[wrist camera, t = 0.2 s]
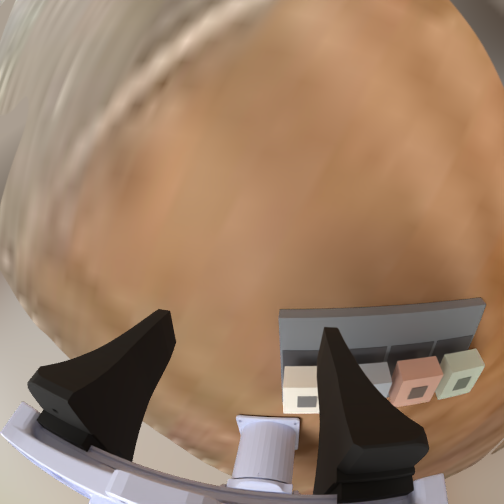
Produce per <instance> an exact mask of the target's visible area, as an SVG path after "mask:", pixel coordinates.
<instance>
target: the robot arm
mask: <svg viewBox="0 0 504 504" xmlns="http://www.w3.org/2000/svg"><path fill="white" fill-rule="evenodd" d="M175 344H176V339H175V334H174V329H173V324H172V319H171V313H170V311H168V310H161V309H158V310H157V311H155V312H154V313H152V314H151V315H149V316H148V317H147V318H145V319H144V320H143V321H141V322H140V323H138V324H137V325H135V326H134V327H133V328H131V329H130V330H128V331H127V332H125V333H124V334H122V335H121V336H119V337H117V338H116V339H114V340H113V341H111V342H109V343H107V344H106V345H104V346H102V347H100V348H98V349H96V350H94V351H91V352H89V353H87V354H84V355H82V356H79V357H77V358H74V359H71V360H68V361H64V362H60V363H56V364H51V365H47V366H41V367H40V368H39V369H38V370H37V371H36V373H35V374H34V375H33V376H32V378H31V379H30V380H29V381H28V389H29V390H30V392H31V394H32V395H33V397H34V398H35V399H36V401H37V402H38V403H39V405H40V406H41V407H42V408H43V411H42V413H40V412H38V411H37V410H36V409H34V408H33V407H31V406H30V405H28V404H27V403H25V402H22V403H21V404H20V405H19V407H18V408H17V410H16V411H15V412H14V414H13V415H12V417H11V418H10V419H9V421H8V422H7V424H6V425H5V427H4V428H3V429H2V431H1V432H0V433H1V435H2V436H3V437H4V438H5V439H6V440H7V441H8V442H9V443H10V444H11V445H12V446H13V447H15V448H16V449H17V450H18V451H19V452H20V453H21V454H22V455H23V456H25V457H26V458H27V459H28V460H30V461H31V462H32V463H34V464H35V465H36V466H38V467H39V468H41V469H42V470H44V471H45V472H46V473H48V474H49V475H51V476H52V477H54V478H56V479H57V480H58V481H60V482H61V483H63V484H65V485H66V486H68V487H70V488H71V489H73V490H75V491H76V492H78V493H80V494H81V495H83V496H85V497H87V498H89V499H90V501H89V503H88V504H448V498H447V491H446V485H445V479H444V474H443V473H440V474H436V475H432V476H428V477H423V478H420V479H417V480H414V481H413V479H412V475H414V474H415V468H414V465H415V464H417V463H418V462H419V461H420V460H421V459H422V458H423V457H424V456H425V455H426V454H427V452H428V450H429V445H428V440H427V436H426V434H425V431H424V428H423V427H422V426H420V425H419V424H417V423H416V422H414V421H413V420H411V419H410V418H408V417H407V416H405V415H404V414H403V413H402V412H400V411H399V410H398V409H397V408H396V407H395V406H393V405H392V404H391V403H390V402H389V401H388V400H387V399H386V398H385V397H384V396H383V395H382V394H381V393H380V392H379V391H378V390H377V388H376V387H375V386H374V385H373V384H372V382H371V381H370V380H369V379H368V377H367V376H366V375H365V373H364V372H363V370H362V369H361V367H360V366H359V364H358V363H357V361H356V360H355V358H354V356H353V355H352V353H351V351H350V350H349V348H348V346H347V344H346V343H345V341H344V339H343V337H342V335H341V333H340V331H339V329H338V328H337V327H324V329H323V334H322V339H321V343H320V348H319V352H318V357H317V389H318V401H319V414H320V431H319V447H318V459H317V468H316V477H315V484H314V491H313V495H301V494H300V493H299V492H298V491H294V490H293V493H292V488H293V484H292V475H293V464H294V453H295V450H297V449H298V441H299V426H300V419H299V418H280V417H258V416H244V415H238V416H237V417H236V420H237V424H238V427H239V431H240V434H241V438H240V443H239V447H238V452H237V456H236V461H235V465H234V470H233V474H232V479H228V482H227V484H222V485H220V486H216V485H211V484H206V483H201V482H197V481H193V480H189V479H185V478H180V477H177V476H173V475H170V474H166V473H163V472H160V471H156V470H153V469H150V468H147V467H144V466H142V465H139V464H136V463H133V462H132V459H133V455H134V450H135V446H136V442H137V438H138V434H139V430H140V427H141V424H142V421H143V417H144V414H145V412H146V409H147V406H148V403H149V400H150V398H151V396H152V394H153V392H154V390H155V388H156V386H157V384H158V382H159V380H160V378H161V376H162V374H163V372H164V370H165V368H166V366H167V364H168V363H169V360H170V358H171V355H172V353H173V350H174V347H175Z"/></svg>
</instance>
